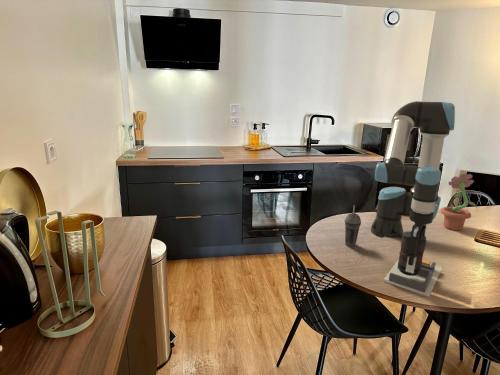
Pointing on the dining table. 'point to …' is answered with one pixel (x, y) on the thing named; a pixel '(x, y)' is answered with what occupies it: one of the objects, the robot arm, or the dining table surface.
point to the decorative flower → (457, 215)
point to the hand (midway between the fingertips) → (412, 267)
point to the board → (415, 278)
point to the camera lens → (404, 251)
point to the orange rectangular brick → (426, 262)
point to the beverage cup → (352, 228)
